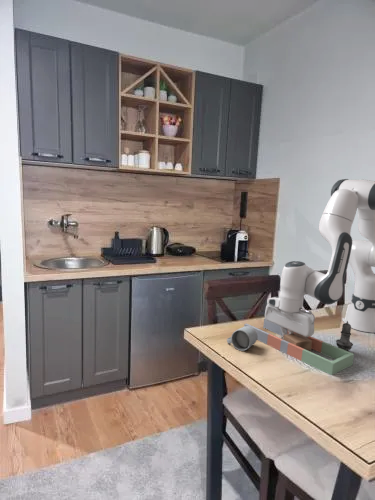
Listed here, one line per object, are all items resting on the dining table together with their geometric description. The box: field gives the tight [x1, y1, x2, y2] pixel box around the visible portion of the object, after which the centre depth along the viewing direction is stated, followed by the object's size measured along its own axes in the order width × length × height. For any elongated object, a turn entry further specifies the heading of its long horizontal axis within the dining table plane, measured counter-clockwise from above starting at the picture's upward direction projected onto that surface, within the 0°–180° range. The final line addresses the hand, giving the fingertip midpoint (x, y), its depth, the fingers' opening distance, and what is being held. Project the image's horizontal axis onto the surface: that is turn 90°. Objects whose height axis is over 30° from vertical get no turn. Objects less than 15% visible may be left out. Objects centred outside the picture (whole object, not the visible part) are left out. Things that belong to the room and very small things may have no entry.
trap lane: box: [243, 318, 355, 376], centre depth 129 cm, size 13×38×4 cm, turn 38°
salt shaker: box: [335, 321, 354, 352], centre depth 127 cm, size 6×6×12 cm
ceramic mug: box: [226, 326, 258, 352], centre depth 127 cm, size 11×8×8 cm
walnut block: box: [282, 333, 312, 352], centre depth 126 cm, size 7×7×5 cm
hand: (286, 339), depth 131 cm, fingers closed
